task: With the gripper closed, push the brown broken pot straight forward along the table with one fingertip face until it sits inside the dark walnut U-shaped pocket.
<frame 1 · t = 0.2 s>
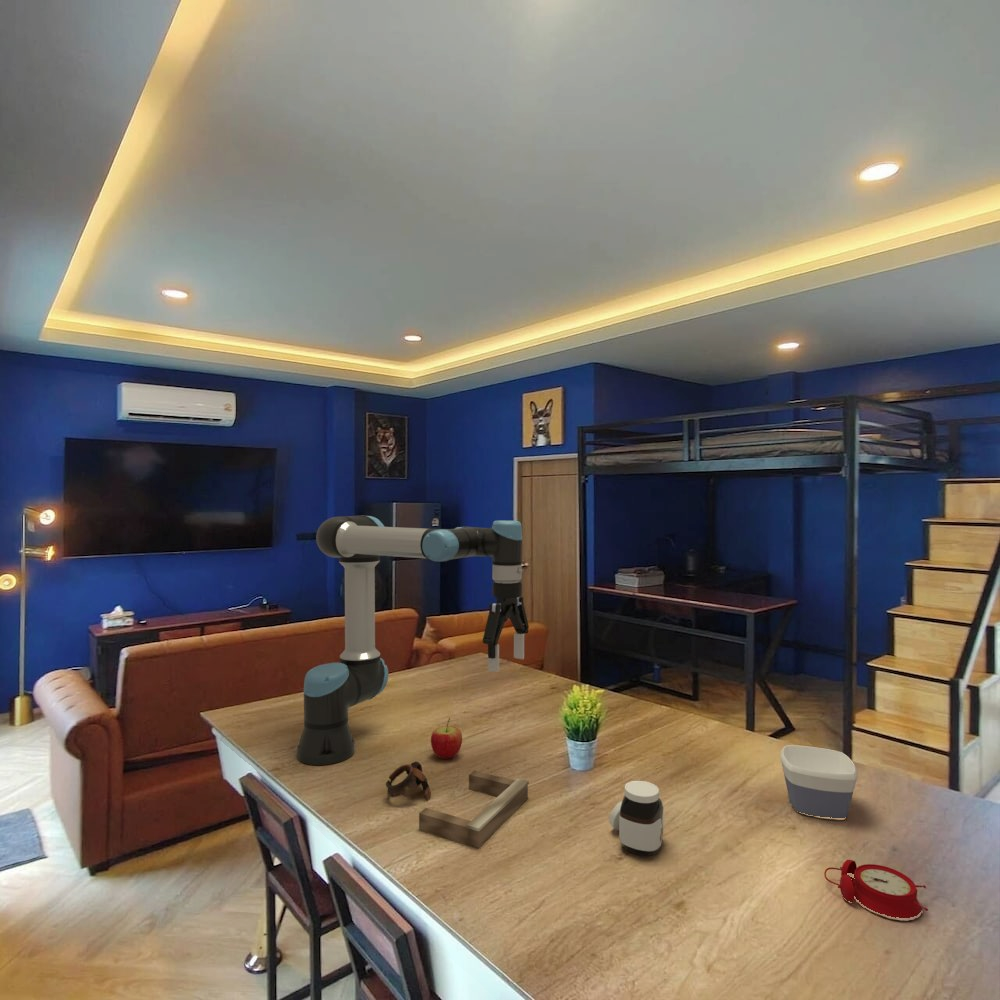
hand: (506, 664, 156), 28 cm above the counter, fingers open, 13 cm apart
spread jar: (634, 841, 125), on the counter
bowl: (817, 808, 139), on the counter
apple: (446, 757, 166), on the counter
alarm clock: (873, 900, 107), on the counter
brown broken pot: (410, 796, 144), on the counter
walnut pocket: (500, 820, 133), on the counter
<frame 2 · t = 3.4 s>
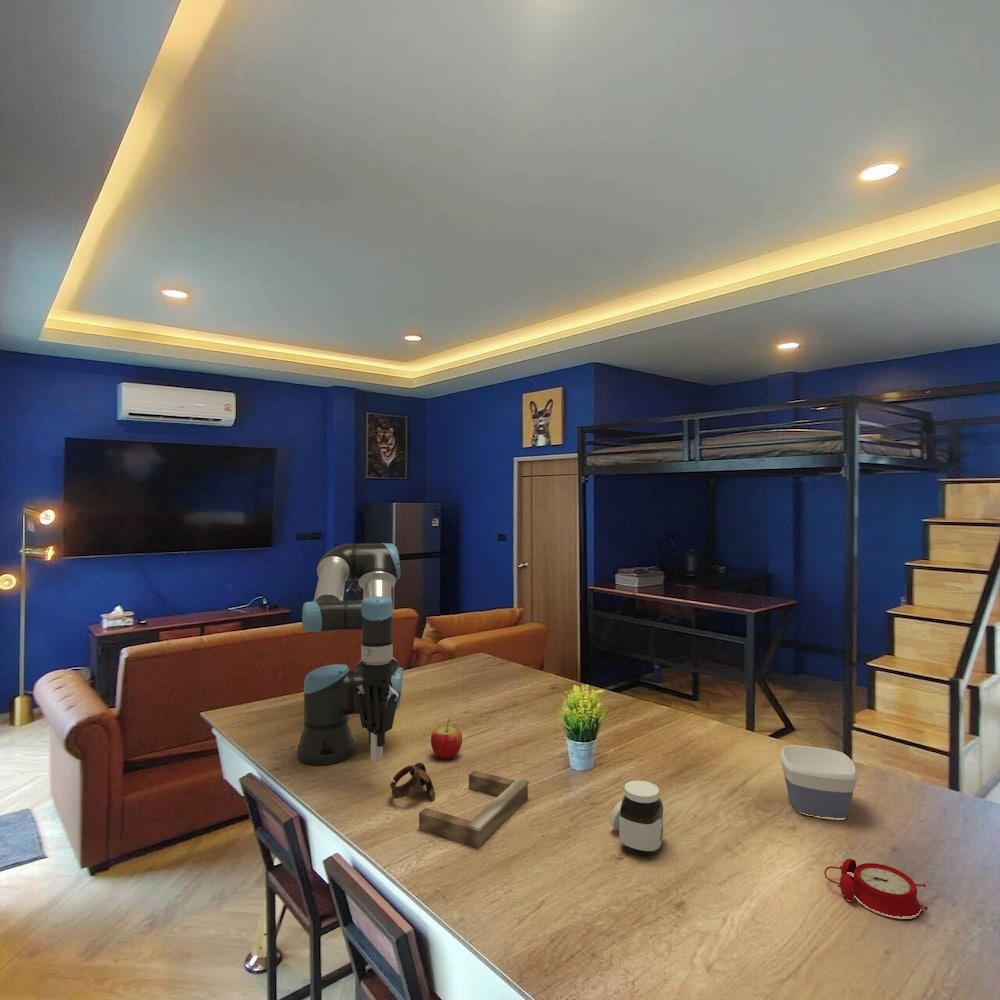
hand: (376, 758, 148), 7 cm above the counter, fingers closed
brown broken pot: (414, 797, 144), on the counter
everything else where it was.
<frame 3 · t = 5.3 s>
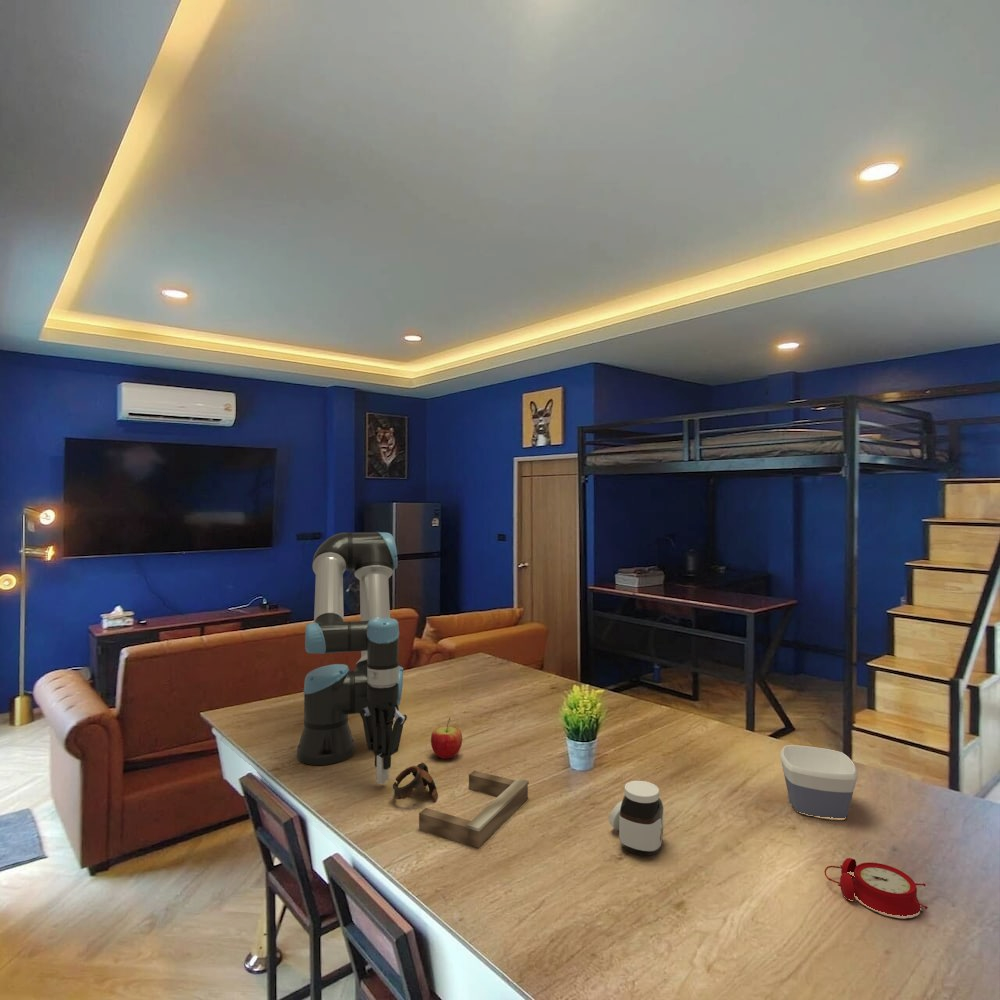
hand: (382, 781, 148), 2 cm above the counter, fingers closed
nothing on the counter moved.
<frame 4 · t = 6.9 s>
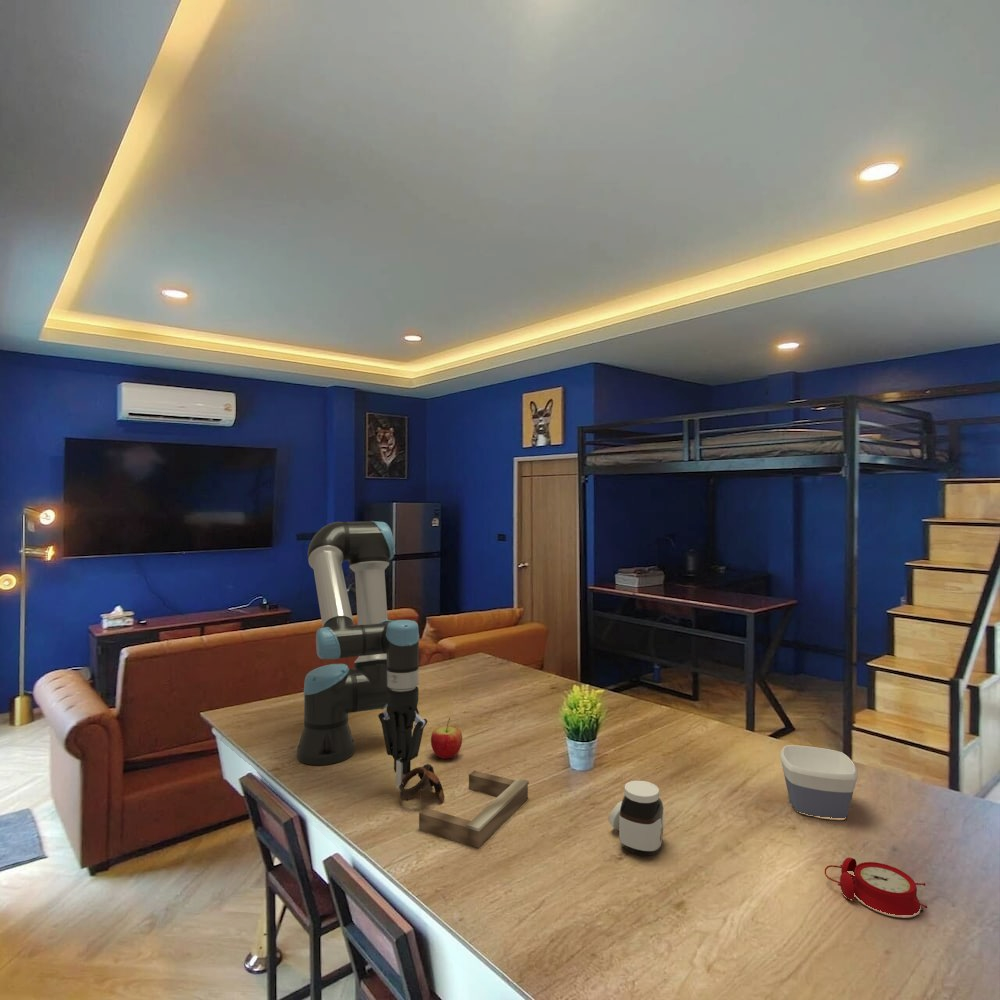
hand: (402, 786, 145), 2 cm above the counter, fingers closed
brown broken pot: (423, 799, 143), on the counter, touching gripper
everything else where it was.
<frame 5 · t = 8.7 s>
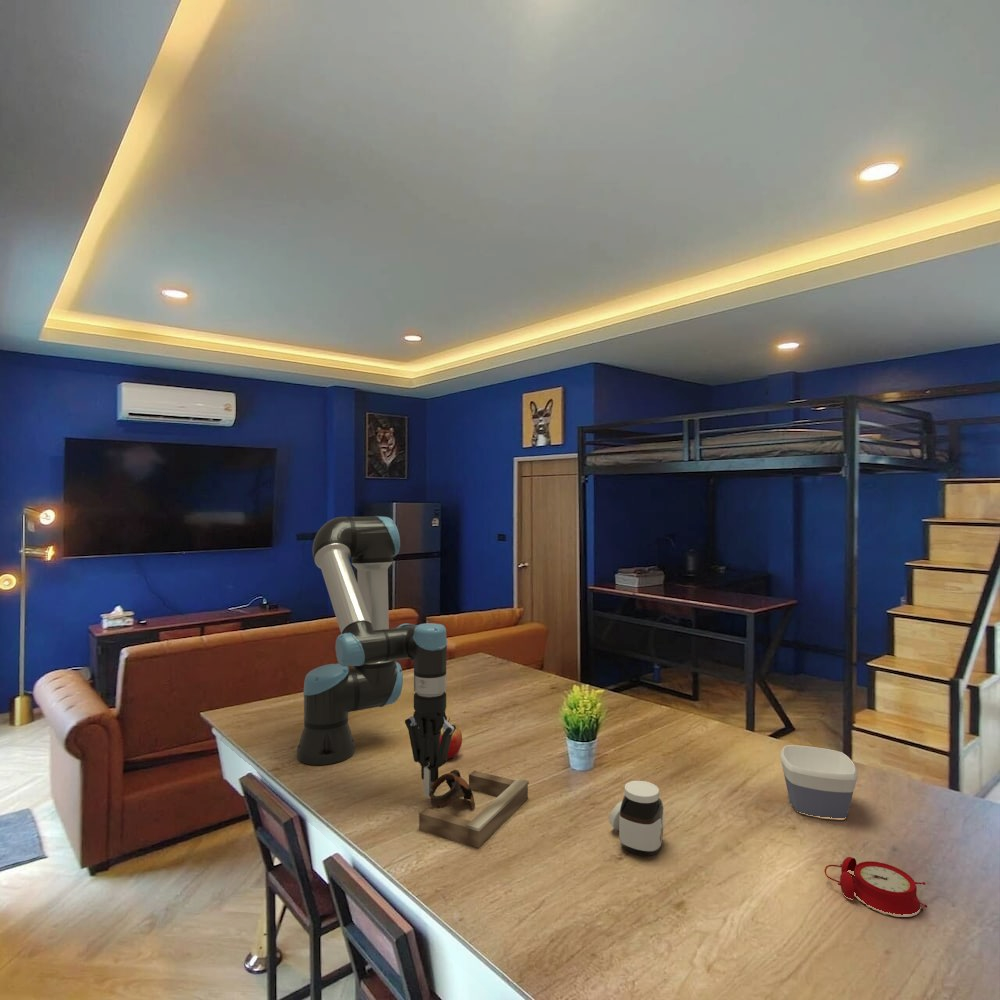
hand: (429, 794, 141), 2 cm above the counter, fingers closed
brown broken pot: (453, 806, 139), on the counter, touching gripper
everything else where it was.
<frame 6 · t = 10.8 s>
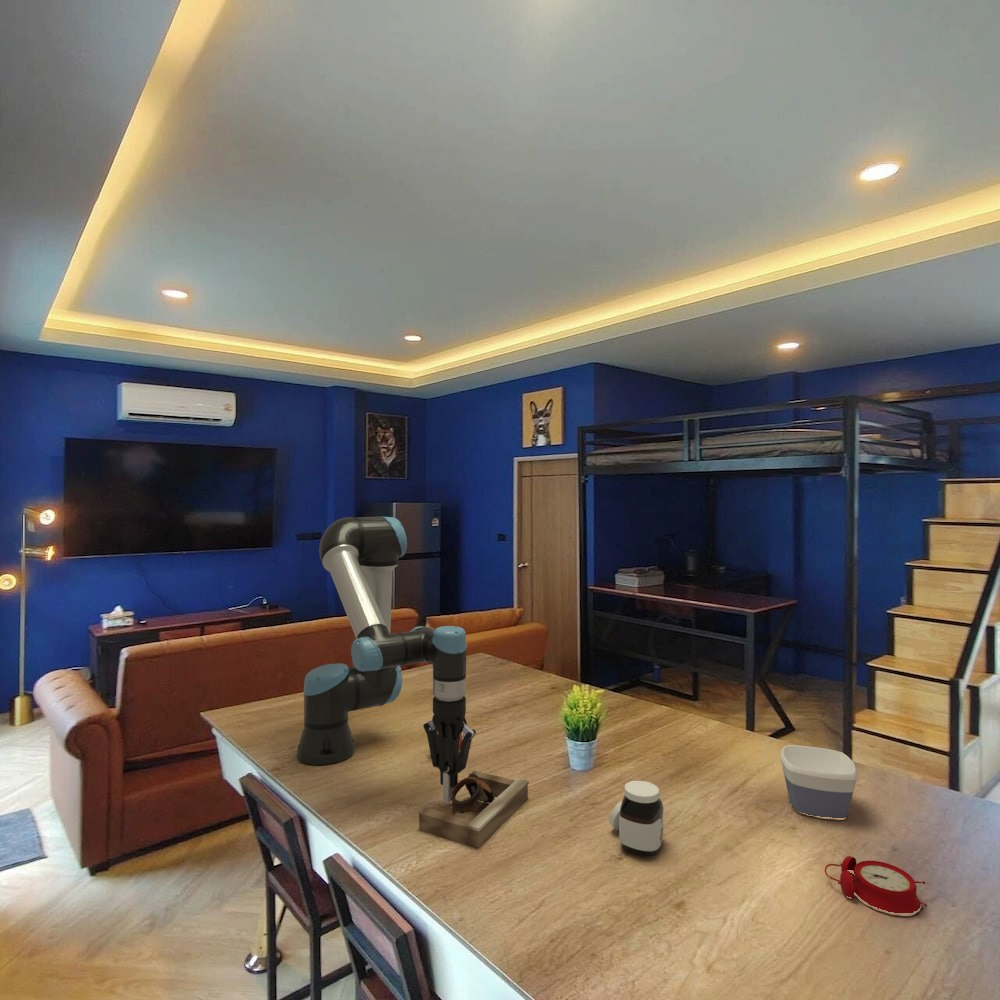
hand: (448, 799, 139), 1 cm above the counter, fingers closed
brown broken pot: (474, 810, 138), on the counter, touching gripper
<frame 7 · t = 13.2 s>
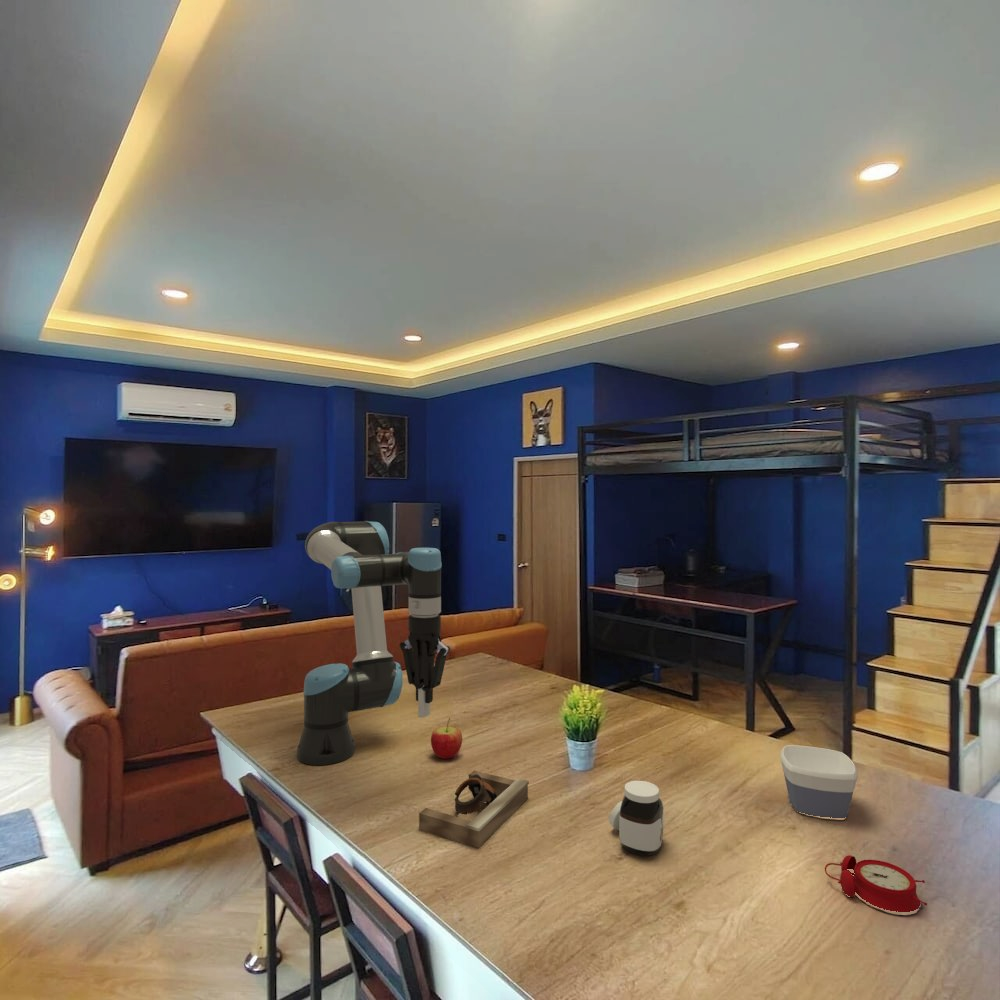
hand: (424, 715, 142), 19 cm above the counter, fingers closed
brown broken pot: (477, 811, 137), on the counter
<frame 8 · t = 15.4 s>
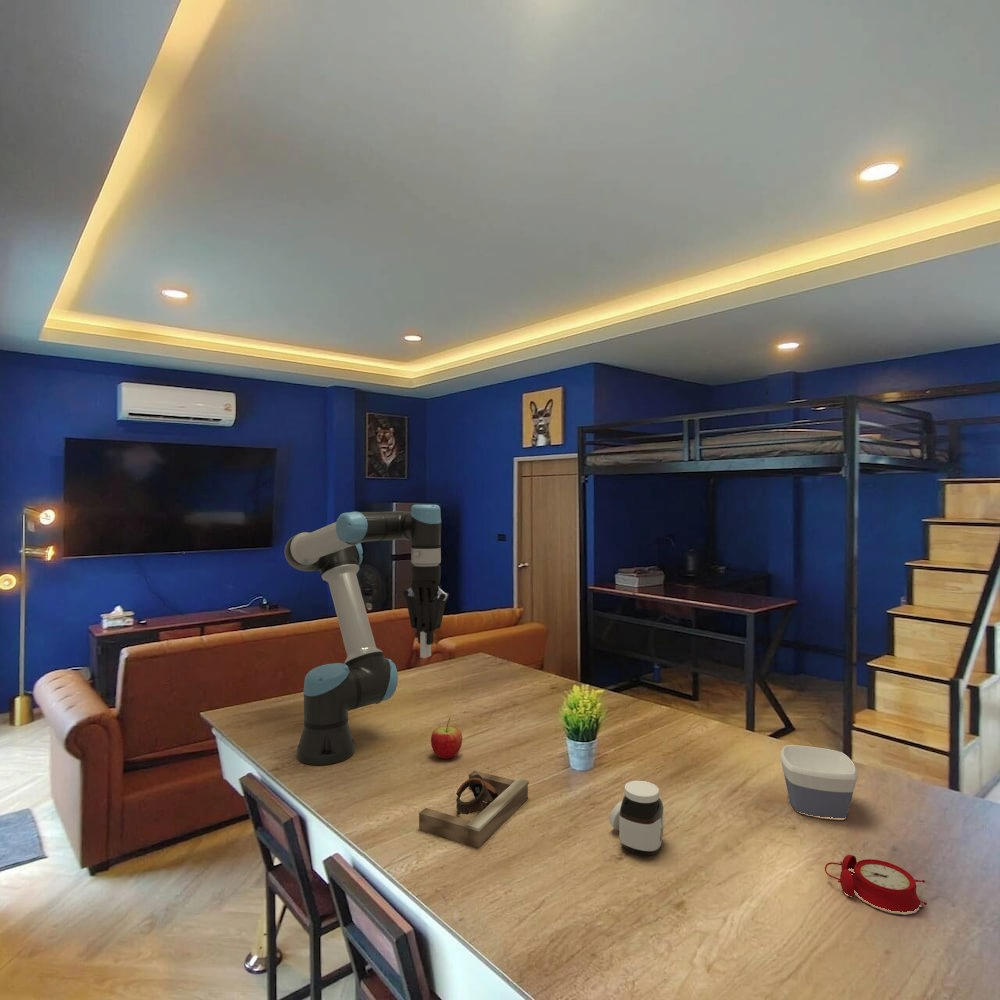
hand: (425, 656, 157), 29 cm above the counter, fingers closed
at the end: brown broken pot inside the target area (1.9 cm from its centre), on the counter; brown broken pot tilted 0°; brown broken pot moved 17.8 cm from its start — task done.
